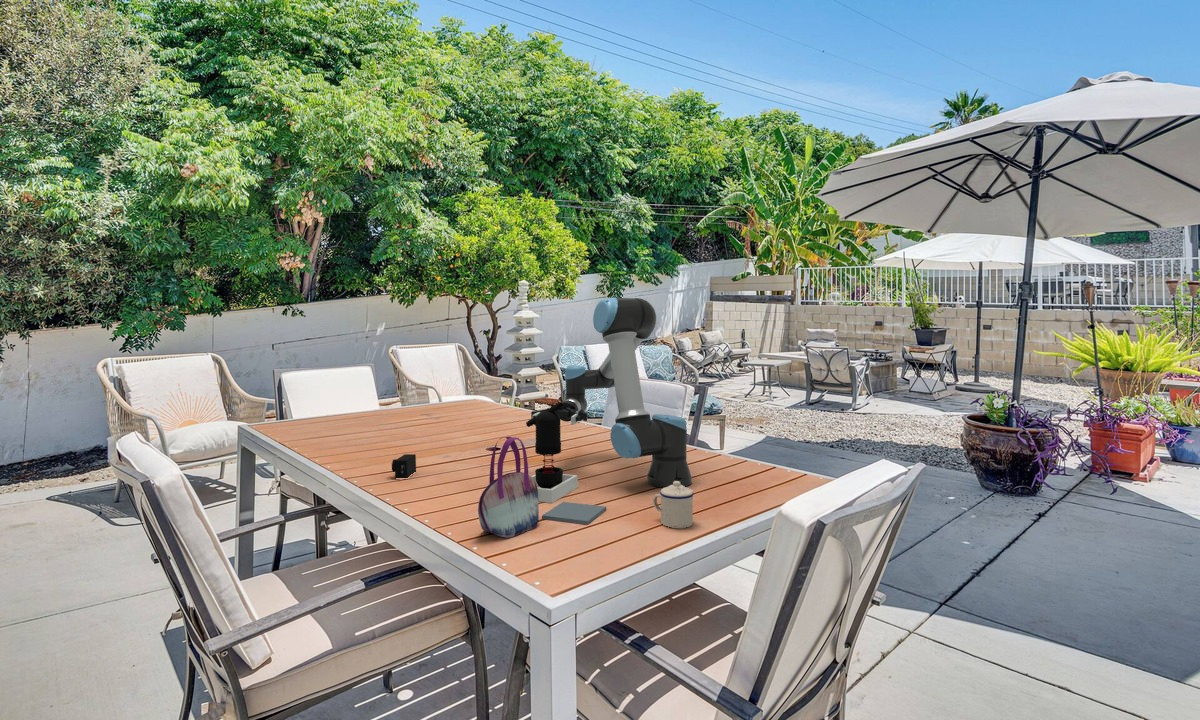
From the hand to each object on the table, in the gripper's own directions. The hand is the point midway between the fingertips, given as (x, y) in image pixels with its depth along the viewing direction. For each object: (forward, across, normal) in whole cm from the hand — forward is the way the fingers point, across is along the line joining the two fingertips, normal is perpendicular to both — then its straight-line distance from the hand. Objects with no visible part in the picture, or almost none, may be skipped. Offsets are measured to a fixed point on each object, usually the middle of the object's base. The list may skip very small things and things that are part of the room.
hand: (552, 420), depth 209 cm
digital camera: (-1, +56, -23) cm, 61 cm away
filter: (+10, -1, -22) cm, 24 cm away
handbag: (+46, -2, -22) cm, 51 cm away
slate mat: (+30, -16, -22) cm, 40 cm away
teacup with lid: (+32, -44, -21) cm, 58 cm away
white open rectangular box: (+10, -1, -22) cm, 24 cm away
